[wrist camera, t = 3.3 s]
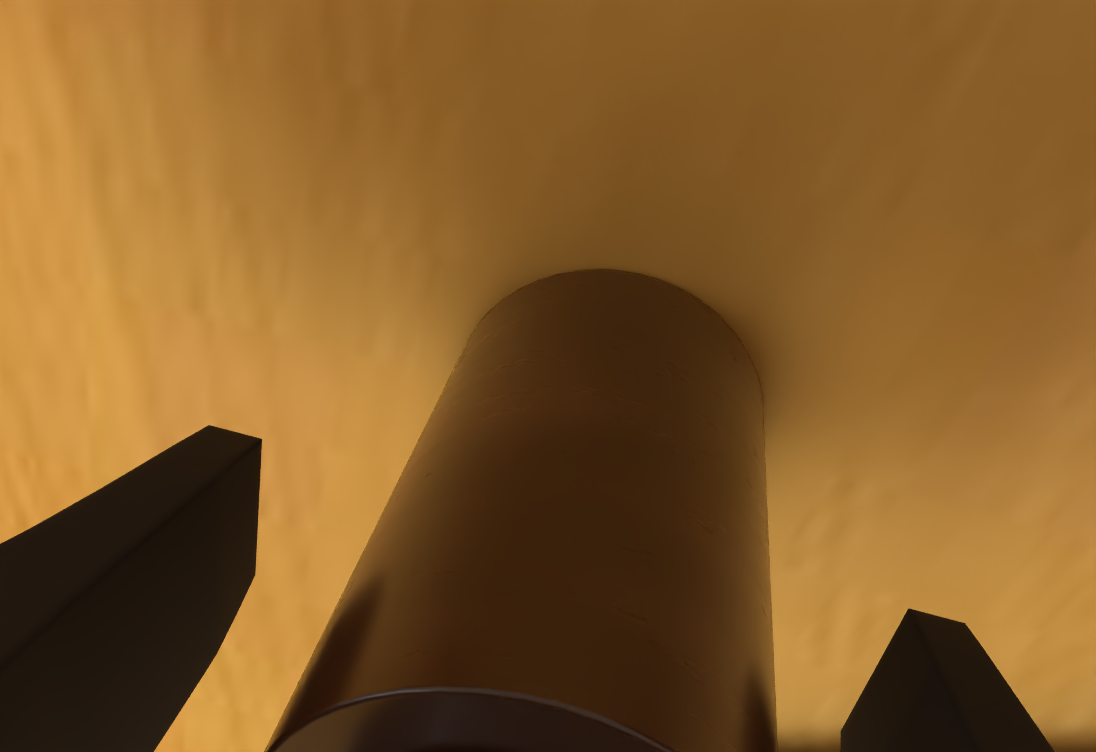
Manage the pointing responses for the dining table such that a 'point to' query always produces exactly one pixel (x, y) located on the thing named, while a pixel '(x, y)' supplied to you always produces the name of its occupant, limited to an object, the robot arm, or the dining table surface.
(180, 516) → the robot arm
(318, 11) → the dining table surface
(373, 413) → the dining table surface
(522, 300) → the pepper mill
